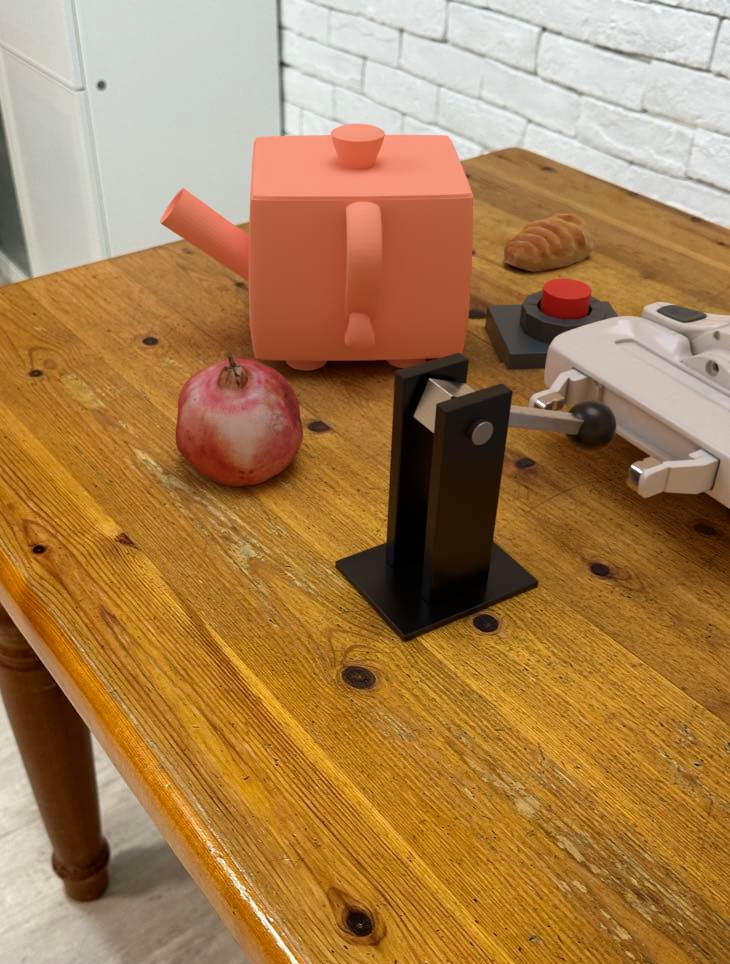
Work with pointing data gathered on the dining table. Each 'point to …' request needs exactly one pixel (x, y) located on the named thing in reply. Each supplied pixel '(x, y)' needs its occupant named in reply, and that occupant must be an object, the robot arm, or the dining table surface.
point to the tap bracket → (441, 509)
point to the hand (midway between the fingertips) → (582, 445)
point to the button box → (533, 330)
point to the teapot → (348, 247)
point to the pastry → (549, 243)
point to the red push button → (565, 299)
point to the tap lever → (532, 416)
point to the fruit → (238, 422)
